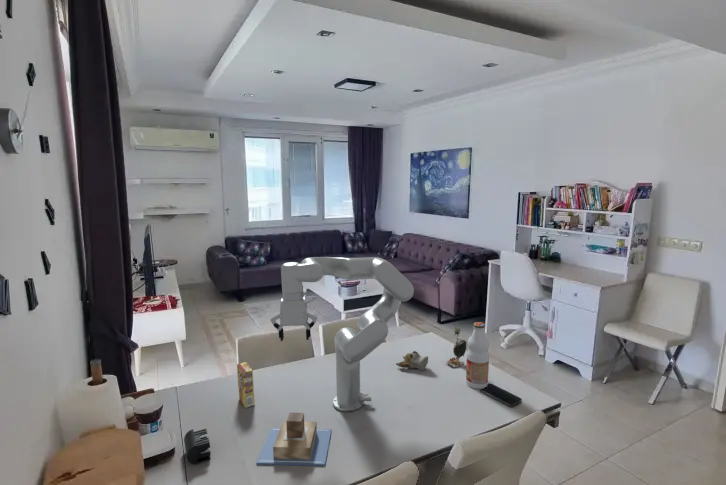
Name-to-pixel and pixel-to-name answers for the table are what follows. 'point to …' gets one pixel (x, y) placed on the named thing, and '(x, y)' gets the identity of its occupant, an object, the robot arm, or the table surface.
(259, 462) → the blueprint board
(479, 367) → the fruit juice
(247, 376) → the candy box
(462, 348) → the plant with pod
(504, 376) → the table surface
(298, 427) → the walnut block
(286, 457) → the oak base block
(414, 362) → the ceramic sculpture
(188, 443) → the end cap
